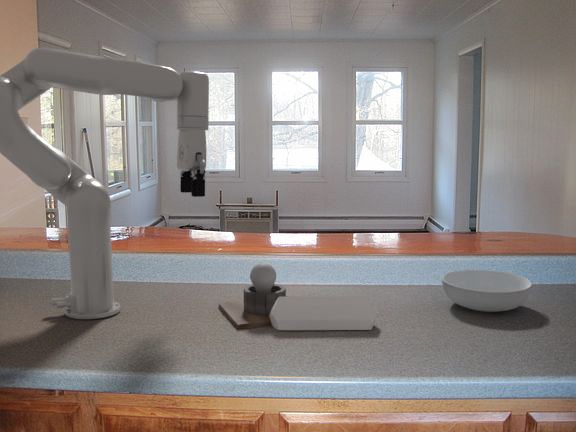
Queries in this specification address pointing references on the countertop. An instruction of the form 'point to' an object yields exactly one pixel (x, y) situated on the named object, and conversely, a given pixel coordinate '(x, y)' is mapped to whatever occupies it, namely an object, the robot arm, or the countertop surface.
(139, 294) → the countertop surface
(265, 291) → the lightbulb
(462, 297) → the serving bowl
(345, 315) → the crystal
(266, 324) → the socket
